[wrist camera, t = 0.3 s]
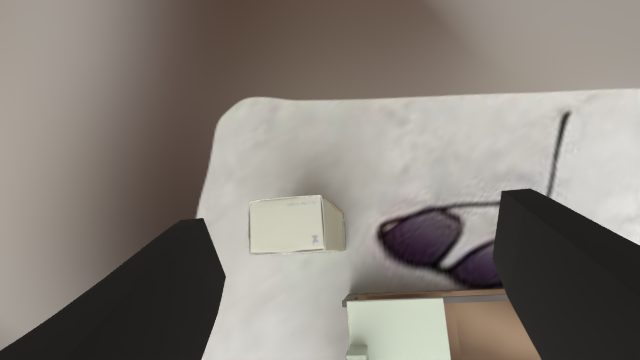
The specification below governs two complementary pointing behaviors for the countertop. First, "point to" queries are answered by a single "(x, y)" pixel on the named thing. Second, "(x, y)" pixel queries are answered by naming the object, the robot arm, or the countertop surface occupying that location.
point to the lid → (397, 329)
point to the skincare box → (294, 226)
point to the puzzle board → (475, 323)
